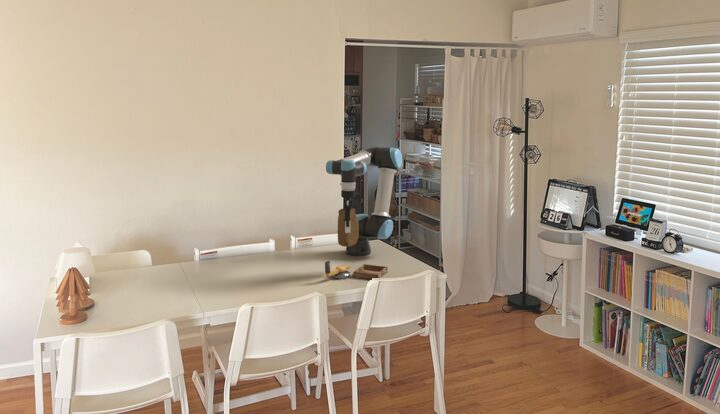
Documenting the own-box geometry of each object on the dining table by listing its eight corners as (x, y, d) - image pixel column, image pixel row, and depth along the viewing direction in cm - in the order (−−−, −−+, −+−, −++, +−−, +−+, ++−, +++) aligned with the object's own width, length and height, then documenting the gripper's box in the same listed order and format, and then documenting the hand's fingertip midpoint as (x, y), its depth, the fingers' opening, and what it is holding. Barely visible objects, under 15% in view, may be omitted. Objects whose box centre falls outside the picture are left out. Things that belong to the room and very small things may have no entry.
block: (345, 248, 327) (345, 210, 323) (336, 245, 332) (335, 208, 328) (360, 244, 334) (360, 208, 330) (351, 241, 340) (350, 206, 336)
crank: (344, 267, 333) (344, 254, 331) (351, 269, 330) (351, 255, 328) (322, 275, 320) (322, 261, 318) (329, 277, 317) (329, 262, 315)
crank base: (335, 272, 334) (335, 267, 333) (353, 275, 330) (353, 269, 330) (328, 278, 325) (328, 273, 324) (345, 280, 321) (345, 275, 320)
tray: (364, 269, 340) (364, 264, 339) (387, 272, 335) (387, 266, 334) (353, 277, 326) (353, 271, 326) (377, 280, 321) (377, 274, 321)
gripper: (342, 185, 339) (342, 225, 343) (339, 193, 316) (339, 235, 320) (356, 186, 338) (356, 225, 343) (354, 193, 315) (354, 235, 320)
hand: (348, 230), depth 331 cm, fingers closed on block, 11 cm apart
